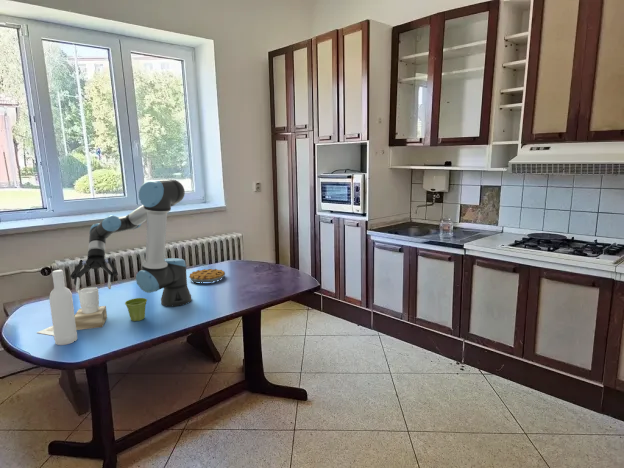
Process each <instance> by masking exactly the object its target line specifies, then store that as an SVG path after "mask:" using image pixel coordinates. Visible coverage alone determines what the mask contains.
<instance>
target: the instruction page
mask: <svg viewBox="0 0 624 468" xmlns="http://www.w3.org/2000/svg"><path fill="white" fill-rule="evenodd" d="M36 334H39V335H40V334H41V335H45V336H51V335H52V336H51V337H53V336H54V330H53V325H50V326H49V327H46V328H44V329H41V330H39V331H36Z"/></svg>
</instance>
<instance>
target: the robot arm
mask: <svg viewBox="0 0 624 468" xmlns="http://www.w3.org/2000/svg"><path fill="white" fill-rule="evenodd" d="M185 192H186V191H185V188H184V185H183V184H182V183H181V182H180V181H179V180H176V179H169V178H168V179H152V180H148V181H145V182H143V184H142V185H140V188H139V191H138V200H139V201H140V204H141V205H140V206H138V207H137V208H136V209H134V210H133V211H131V212H129V214H127V215H125V216H115V215H108V216H107V217H105V218H104V219H103V220H102V221H101V222H100V223H93V224H92V225H91V226H90V229H89V240H88V249H87V259H86V260H83V259H80V260H79V261H78V264H77V266H76V267H75V268H74V270H72V272H71V273H70V278H71V280H74V281H73V284H74V286H75V291H76V293H78V291H79V290H80V285H81V278H82V277H83V276H84V275H85V274H86V273H87V272H89V271H90V270H95V269H100V268H101V269H102V270H104V271H105V272H106V273H107V274H108V278H107V279H108V281H107V288H108V290H111V289H112V283H114V281H115V279H114V278H115V276H119V273H118V270H117V269H116V267H115V266H114V264H113V262H112V259H111V257H108V258H106V244H107V239H108V238H109V237H110V236H111V235H113V234H117V233H120V232H121V233H122V232H126V231H130V230H136V229H138V228H140V227H141V226H142V224H143V223H145V222H146V235H145V236H146V239H145V240H146V242H145V243H146V245H145V259H144V261H142V263H141V270H139V271H138V272H137V273H136V275H135V281H136V284H137V286H138V287H139V288H140V289H141V290H142V291H143V292H145V293H147V294H150V293H151V294H152V293H154V292H158V291H160V290H161V289H162V294H161V298H160V303H161V305H162V306H165V307H180V306H184V305H186V303H187V304H189V303H190V302H191V301H192V295H191V292H190V289H189V286H188V281H187V280H188V279H187V277H188V276H187V265H186V260H184V259H183V258H178V257H177V258H173V257H172V258H171V257H170V258H166V242H167V241H166V240H167V225H168V224H167V222H168V213H170V212H171V210H172V209H171V208H172V207H174V206H175V205H176V204H177V205H178V203H180V202H181V201H182V200H183V199H184V197H185ZM105 264H108V265H109V267H110V268H108V267H107V266H106V265H105ZM83 266H84V267H83ZM110 269H111V270H112V271H111V270H110ZM188 302H189V303H188ZM183 304H184V305H183ZM179 305H180V306H179Z"/></svg>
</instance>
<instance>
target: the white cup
mask: <svg viewBox="0 0 624 468" xmlns="http://www.w3.org/2000/svg"><path fill="white" fill-rule="evenodd" d="M77 294H78V300H79V303H80V308H81V309H82V313H84V314H90V313H94V312H97V311H98V310H99V306H100V298H99V297H100V296H99V288H98V287H94V286H93V287H84V288H82V289H79V291H78V292H77Z"/></svg>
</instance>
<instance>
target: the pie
mask: <svg viewBox="0 0 624 468" xmlns="http://www.w3.org/2000/svg"><path fill="white" fill-rule="evenodd" d="M225 275H226V272H225V271H224V270H223V269H217V268H215V269H212V268H209V269H206V268H205V269H202V270H201V269H198V270H196V271H192V272H191V273H189V276H188V278H189V279H190V280H191V282H192V281H193V282H200V283H201V282H202V283H203V282H213V281H217V280H220V279H221V278H224V276H225ZM193 282H192V283H193Z"/></svg>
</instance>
